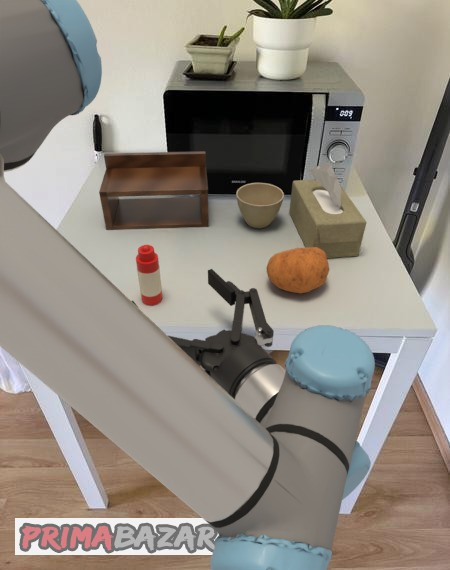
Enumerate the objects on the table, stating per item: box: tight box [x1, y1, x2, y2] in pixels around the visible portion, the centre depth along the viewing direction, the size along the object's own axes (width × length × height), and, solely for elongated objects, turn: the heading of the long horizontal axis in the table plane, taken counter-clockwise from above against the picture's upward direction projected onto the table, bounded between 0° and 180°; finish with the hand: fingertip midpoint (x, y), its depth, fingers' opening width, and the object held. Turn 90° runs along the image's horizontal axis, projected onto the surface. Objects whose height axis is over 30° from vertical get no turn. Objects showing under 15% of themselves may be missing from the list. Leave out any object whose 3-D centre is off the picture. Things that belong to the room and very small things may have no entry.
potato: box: [265, 246, 330, 294], centre depth 79 cm, size 9×11×8 cm
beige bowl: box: [235, 182, 285, 229], centre depth 95 cm, size 10×10×7 cm
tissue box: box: [288, 162, 367, 259], centre depth 90 cm, size 19×10×16 cm, turn 7°
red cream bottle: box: [135, 244, 163, 306], centre depth 74 cm, size 4×4×11 cm
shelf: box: [98, 150, 209, 231], centre depth 96 cm, size 22×12×12 cm, turn 94°
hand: (172, 291), depth 68 cm, fingers open, 13 cm apart
